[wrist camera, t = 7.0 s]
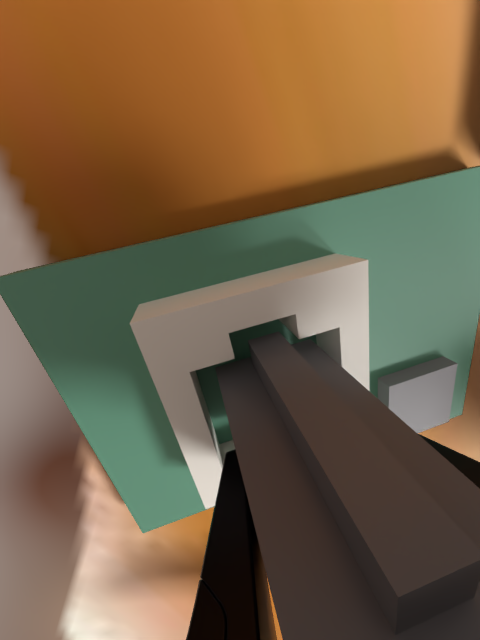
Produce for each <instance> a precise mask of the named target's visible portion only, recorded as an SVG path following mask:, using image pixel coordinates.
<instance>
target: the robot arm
mask: <svg viewBox="0 0 480 640" xmlns="http://www.w3.org/2000/svg"><path fill="white" fill-rule="evenodd" d="M418 435H420V434H418ZM420 436H421V437H422V438H423V439H424V440H425V441H426V442H427V443H429V444H430V445H431V446H432V447H433V448H434V449H435V450H437V451H438V452H439V453H440V454H441V455H442V456H443V457H444V458H446V459H447V460H448V461H449V462H450V463H451V464H452V465H453V466H455V467H456V468H457V469H458V470H459V471H460V472H461V473H463V474H464V475H465V476H466V477H467V478H468V479H469V480H470V481H472V482H473V483H474V484H475V485H476V486H477V487H478V488H480V462H478V461H476V460H474V459H472V458H469V457H467V456H465V455H463V454H461V453H459V452H456V451H454V450H452V449H450V448H448V447H446V446H443V445H441V444H439V443H437V442H435V441H433V440H430V439H428V438H426V437H424V436H422V435H420ZM200 577H201V580H200V581H199V585H198V589H197V594H196V599H195V604H194V608H193V612H192V617H191V621H190V626H189V630H188V634H187V637H186V640H277V637H276V631H275V625H274V618H273V612H272V606H271V600H270V594H269V588H268V581H267V575H266V570H265V566H264V562H263V558H262V554H261V550H260V546H259V542H258V538H257V534H256V530H255V526H254V522H253V518H252V514H251V510H250V506H249V502H248V498H247V494H246V490H245V486H244V482H243V478H242V474H241V470H240V466H239V462H238V458H237V454H236V450H235V449H234V450H231V451H228V452H226V454H225V458H224V463H223V468H222V473H221V478H220V483H219V488H218V493H217V497H216V502H215V507H214V512H213V517H212V522H211V527H210V532H209V537H208V541H207V546H206V551H205V556H204V561H203V566H202V571H201V576H200Z"/></svg>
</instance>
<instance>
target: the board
mask: <svg viewBox="0 0 480 640" xmlns="http://www.w3.org/2000/svg"><path fill="white" fill-rule="evenodd" d="M0 295H1V296H2V298H3V300H4V301H5V303H6V305H7V306H8V308H9V310H10V311H11V313H12V315H13V316H14V318H15V320H16V321H17V323H18V325H19V326H20V328H21V329H22V331H23V333H24V335H25V336H26V338H27V340H28V342H29V343H30V345H31V347H32V348H33V350H34V352H35V353H36V355H37V357H38V358H39V360H40V361H41V363H42V365H43V367H44V368H45V370H46V372H47V373H48V375H49V377H50V378H51V380H52V382H53V383H54V385H55V387H56V388H57V390H58V392H59V393H60V395H61V397H62V398H63V400H64V402H65V403H66V405H67V407H68V408H69V410H70V412H71V414H72V415H73V417H74V419H75V420H76V422H77V424H78V425H79V427H80V429H81V430H82V432H83V434H84V435H85V437H86V439H87V440H88V442H89V444H90V445H91V447H92V449H93V450H94V452H95V454H96V455H97V457H98V459H99V461H100V462H101V464H102V466H103V467H104V469H105V471H106V472H107V474H108V476H109V477H110V479H111V481H112V482H113V484H114V486H115V487H116V489H117V491H118V492H119V494H120V496H121V497H122V499H123V501H124V502H125V504H126V506H127V507H128V509H129V511H130V512H131V514H132V516H133V517H134V519H135V521H136V523H137V524H138V526H139V528H140V529H141V531H142V533H145V532H148V531H150V530H153V529H156V528H158V527H161V526H164V525H166V524H169V523H172V522H175V521H177V520H180V519H183V518H185V517H188V516H191V515H193V514H196V513H199V512H201V511H204V510H207V509H209V508H212V507H215V502H216V497H217V493H218V488H219V483H220V478H221V473H222V468H223V463H224V458H225V454H226V452H228V451H231V450H234V449H235V446H234V442H233V438H232V434H231V430H230V426H229V422H228V418H227V414H226V410H225V406H224V402H223V398H222V394H221V390H220V386H219V382H218V378H217V374H216V370H215V367H218V366H222V365H225V364H228V363H232V362H235V361H238V360H242V359H245V358H248V357H251V354H250V349H249V345H248V340H251V339H254V338H257V337H261V336H264V335H268V334H271V333H275V332H278V331H279V332H280V333H281V334H282V335H283V337H284V338H285V339H286V340H287V341H288V342H289V343H290V344H295V343H298V342H301V341H305V340H308V339H311V340H312V341H313V342H314V343H315V344H316V345H318V346H319V347H320V348H321V349H322V350H323V351H324V352H326V353H327V354H328V355H329V356H330V357H331V358H332V359H333V360H335V361H336V362H337V363H338V364H339V365H340V366H341V367H343V368H344V369H345V370H346V371H347V372H348V373H349V374H350V375H352V376H353V377H354V378H355V379H356V380H357V381H358V382H359V383H361V384H362V385H363V386H364V387H365V388H366V389H367V390H369V391H370V392H371V393H372V394H373V395H374V396H375V397H376V398H378V399H379V400H380V401H381V402H382V403H383V404H384V405H386V406H387V407H388V408H389V409H390V410H391V411H392V412H393V413H395V414H396V415H397V416H398V417H399V418H400V419H401V420H403V421H404V422H405V423H406V424H407V425H408V426H409V427H410V428H412V429H413V430H414V431H415V432H416V433H420V432H422V431H425V430H428V429H430V428H433V427H436V426H438V425H441V424H444V423H446V422H449V419H451V418H454V417H456V416H459V415H462V412H463V406H464V400H465V395H466V389H467V383H468V377H469V372H470V366H471V360H472V354H473V349H474V343H475V337H476V331H477V325H478V320H479V314H480V166H476V167H470V168H466V169H461V170H457V171H453V172H448V173H444V174H440V175H435V176H431V177H427V178H422V179H418V180H413V181H409V182H405V183H400V184H396V185H392V186H387V187H383V188H378V189H374V190H370V191H365V192H361V193H357V194H352V195H348V196H344V197H339V198H335V199H330V200H326V201H322V202H317V203H313V204H309V205H304V206H300V207H296V208H291V209H287V210H282V211H278V212H274V213H269V214H265V215H261V216H256V217H252V218H248V219H243V220H239V221H234V222H230V223H226V224H221V225H217V226H213V227H208V228H204V229H200V230H195V231H191V232H186V233H182V234H178V235H173V236H169V237H165V238H160V239H156V240H151V241H147V242H143V243H138V244H134V245H130V246H125V247H121V248H117V249H112V250H108V251H103V252H99V253H95V254H90V255H86V256H82V257H77V258H73V259H69V260H64V261H60V262H55V263H51V264H47V265H42V266H38V267H34V268H29V269H25V270H21V271H17V272H13V273H10V274H7V275H3V276H0Z"/></svg>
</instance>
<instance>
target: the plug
mask: <svg viewBox="0 0 480 640" xmlns="http://www.w3.org/2000/svg"><path fill="white" fill-rule="evenodd" d="M248 345H249V349H250V354H251V357H248V358H245V359H242V360H238V361H235V362H232V363H228V364H225V365H222V366H218V367H215V370H216V374H217V378H218V382H219V386H220V390H221V394H222V398H223V402H224V406H225V410H226V414H227V418H228V422H229V426H230V430H231V434H232V438H233V442H234V446H235V450H236V454H237V458H238V462H239V466H240V470H241V474H242V478H243V482H244V486H245V490H246V494H247V498H248V502H249V506H250V510H251V514H252V518H253V522H254V526H255V530H256V534H257V538H258V542H259V546H260V550H261V554H262V558H263V562H264V566H265V570H266V574H267V578H268V582H269V586H270V590H271V594H272V598H273V602H274V606H275V610H276V614H277V618H278V622H279V626H280V630H281V634H282V638H283V640H480V488H478V487H477V486H476V485H475V484H474V483H473V482H472V481H470V480H469V479H468V478H467V477H466V476H465V475H464V474H463V473H461V472H460V471H459V470H458V469H457V468H456V467H455V466H453V465H452V464H451V463H450V462H449V461H448V460H447V459H446V458H444V457H443V456H442V455H441V454H440V453H439V452H438V451H437V450H435V449H434V448H433V447H432V446H431V445H430V444H429V443H427V442H426V441H425V440H424V439H423V438H422V437H421V436H420V435H418V434H417V433H416V432H415V431H414V430H413V429H412V428H410V427H409V426H408V425H407V424H406V423H405V422H404V421H403V420H401V419H400V418H399V417H398V416H397V415H396V414H395V413H393V412H392V411H391V410H390V409H389V408H388V407H387V406H386V405H384V404H383V403H382V402H381V401H380V400H379V399H378V398H376V397H375V396H374V395H373V394H372V393H371V392H370V391H369V390H367V389H366V388H365V387H364V386H363V385H362V384H361V383H359V382H358V381H357V380H356V379H355V378H354V377H353V376H352V375H350V374H349V373H348V372H347V371H346V370H345V369H344V368H343V367H341V366H340V365H339V364H338V363H337V362H336V361H335V360H333V359H332V358H331V357H330V356H329V355H328V354H327V353H326V352H324V351H323V350H322V349H321V348H320V347H319V346H318V345H316V344H315V343H314V342H313V341H312V340H311V339H308V340H305V341H301V342H298V343H295V344H290V343H289V342H288V341H287V340H286V339H285V338H284V337H283V335H282V334H281V333H280V332H279V331H278V332H275V333H271V334H268V335H264V336H261V337H257V338H254V339H251V340H248Z"/></svg>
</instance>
